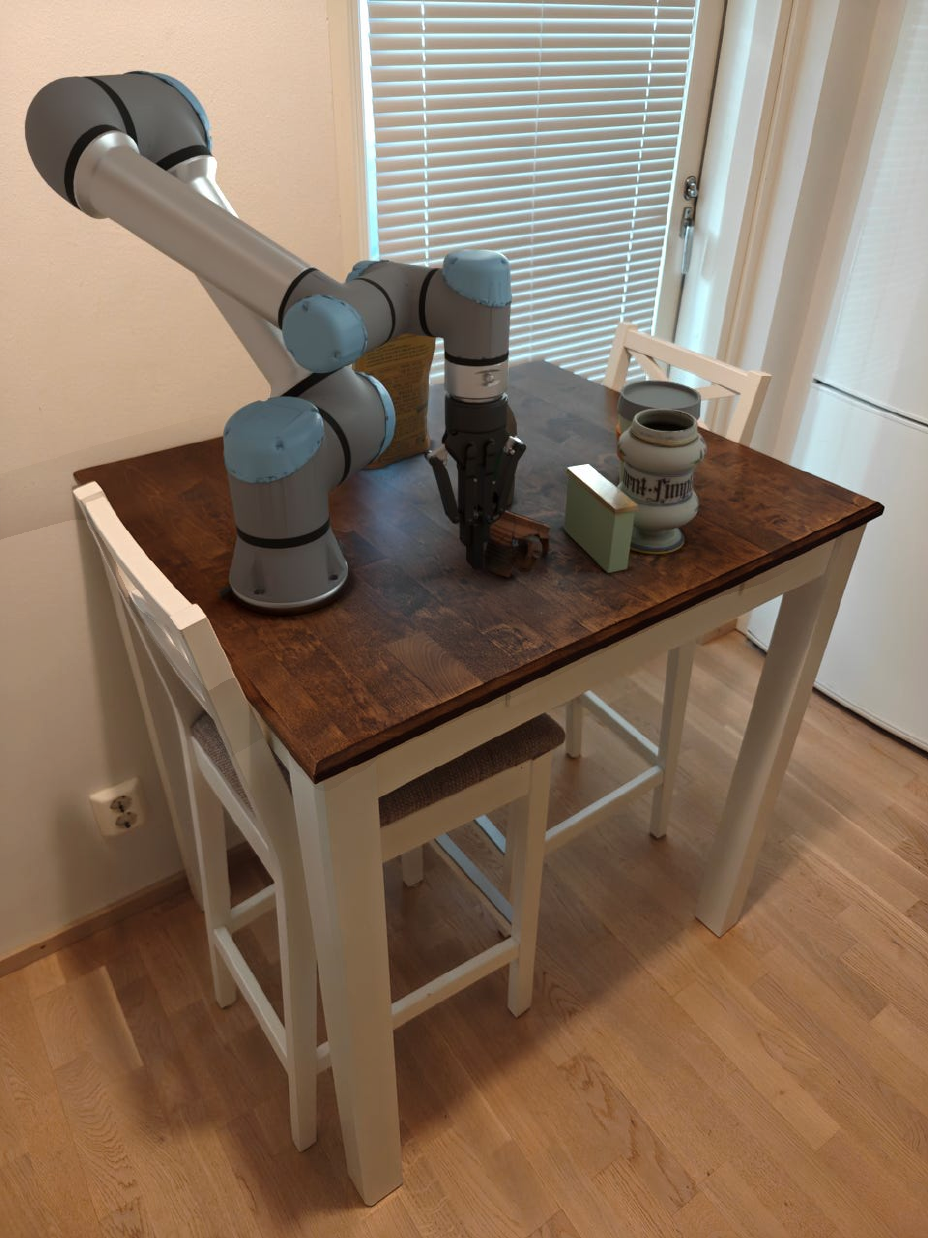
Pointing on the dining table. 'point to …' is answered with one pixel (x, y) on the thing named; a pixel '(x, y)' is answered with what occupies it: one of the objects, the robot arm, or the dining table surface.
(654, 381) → the grey lidded canister
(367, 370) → the pancake mix bag
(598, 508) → the back wall
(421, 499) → the dining table surface
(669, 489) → the apothecary jar
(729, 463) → the dining table surface
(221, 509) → the dining table surface
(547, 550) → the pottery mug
